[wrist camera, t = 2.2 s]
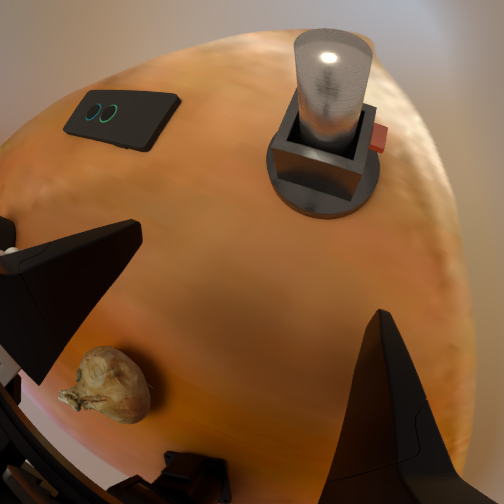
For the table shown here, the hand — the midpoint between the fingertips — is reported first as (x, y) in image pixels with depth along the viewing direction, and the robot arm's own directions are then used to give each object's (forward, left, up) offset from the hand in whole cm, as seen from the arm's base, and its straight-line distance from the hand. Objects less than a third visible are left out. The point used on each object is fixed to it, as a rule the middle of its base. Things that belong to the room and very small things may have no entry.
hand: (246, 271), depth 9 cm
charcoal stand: (+11, -5, -13) cm, 18 cm away
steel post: (+11, -5, -12) cm, 17 cm away
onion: (-8, +15, -14) cm, 22 cm away
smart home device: (+24, +20, -14) cm, 34 cm away
